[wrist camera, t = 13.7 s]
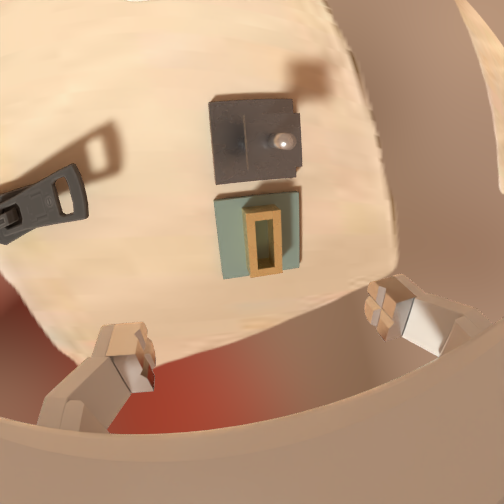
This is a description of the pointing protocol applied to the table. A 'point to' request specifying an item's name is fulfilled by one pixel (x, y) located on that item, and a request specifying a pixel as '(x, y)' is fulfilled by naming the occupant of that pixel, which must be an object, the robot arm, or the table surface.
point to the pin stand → (254, 140)
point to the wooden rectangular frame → (274, 240)
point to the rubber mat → (233, 232)
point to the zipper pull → (41, 205)
